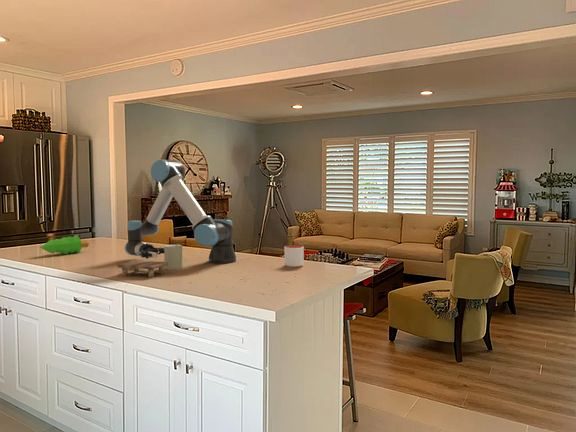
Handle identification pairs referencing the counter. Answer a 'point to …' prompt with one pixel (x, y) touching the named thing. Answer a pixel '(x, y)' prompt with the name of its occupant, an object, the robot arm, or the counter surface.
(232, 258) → the robot arm
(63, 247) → the decorative tree
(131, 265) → the wooden pallet
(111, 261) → the counter surface
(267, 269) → the counter surface
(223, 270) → the counter surface
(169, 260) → the grey-green block
